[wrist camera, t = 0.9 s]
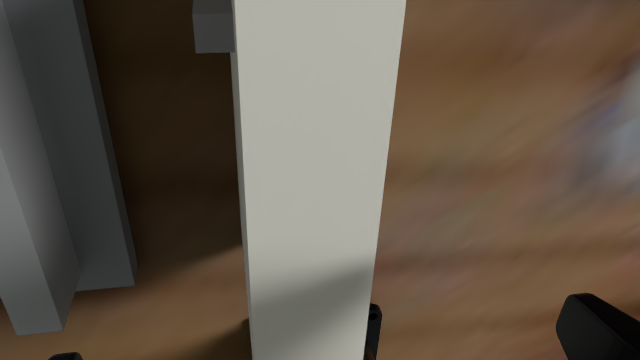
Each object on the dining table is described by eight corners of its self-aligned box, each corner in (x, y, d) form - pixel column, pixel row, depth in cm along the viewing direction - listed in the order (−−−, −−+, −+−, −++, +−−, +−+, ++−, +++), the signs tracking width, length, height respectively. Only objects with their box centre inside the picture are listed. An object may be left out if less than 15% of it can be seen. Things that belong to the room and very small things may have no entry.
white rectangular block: (309, 226, 23) (357, 407, 16) (222, 233, 22) (229, 426, 15) (318, -96, 16) (411, -47, 9) (193, -98, 15) (180, -48, 8)
